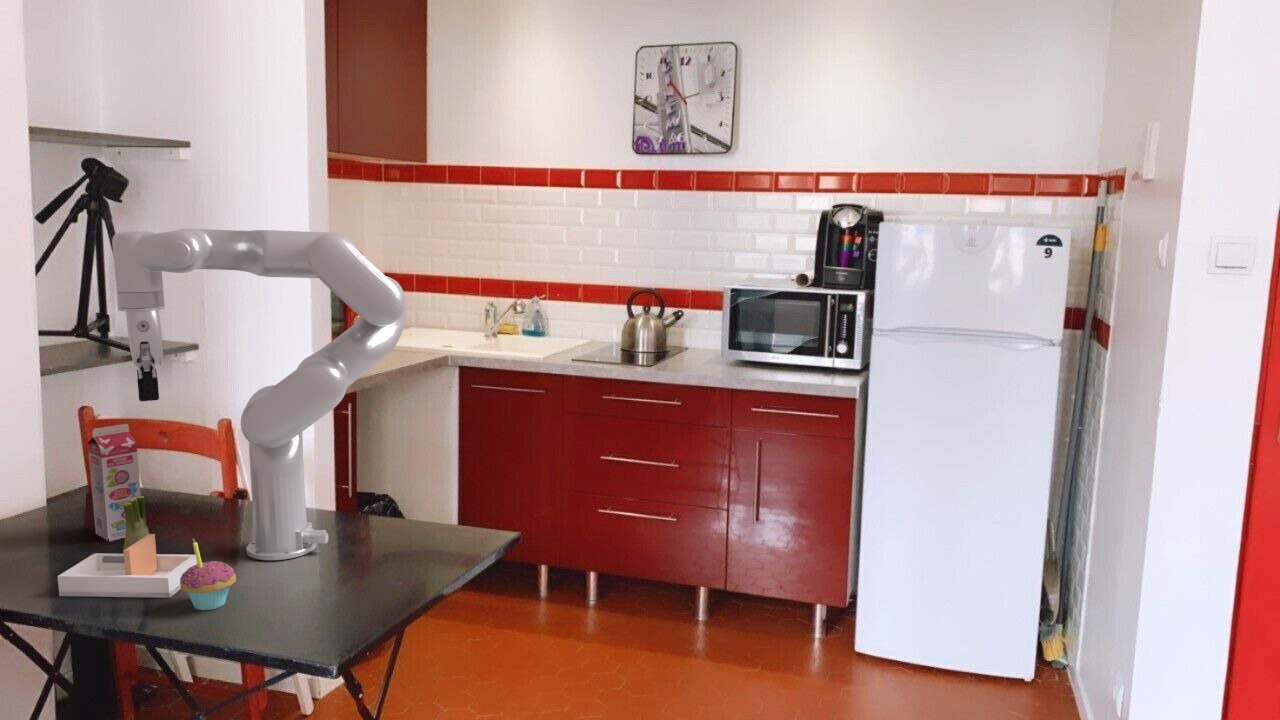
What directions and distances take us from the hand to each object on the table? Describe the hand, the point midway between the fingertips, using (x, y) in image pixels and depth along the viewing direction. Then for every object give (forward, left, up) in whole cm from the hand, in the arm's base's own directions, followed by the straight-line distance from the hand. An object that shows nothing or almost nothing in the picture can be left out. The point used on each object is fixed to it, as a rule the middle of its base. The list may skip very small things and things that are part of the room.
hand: (148, 395), depth 184 cm
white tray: (-1, +12, -31) cm, 33 cm away
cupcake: (-18, +20, -31) cm, 41 cm away
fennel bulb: (+4, +1, -31) cm, 32 cm away
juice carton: (+16, -14, -31) cm, 38 cm away
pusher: (0, +12, -30) cm, 32 cm away
